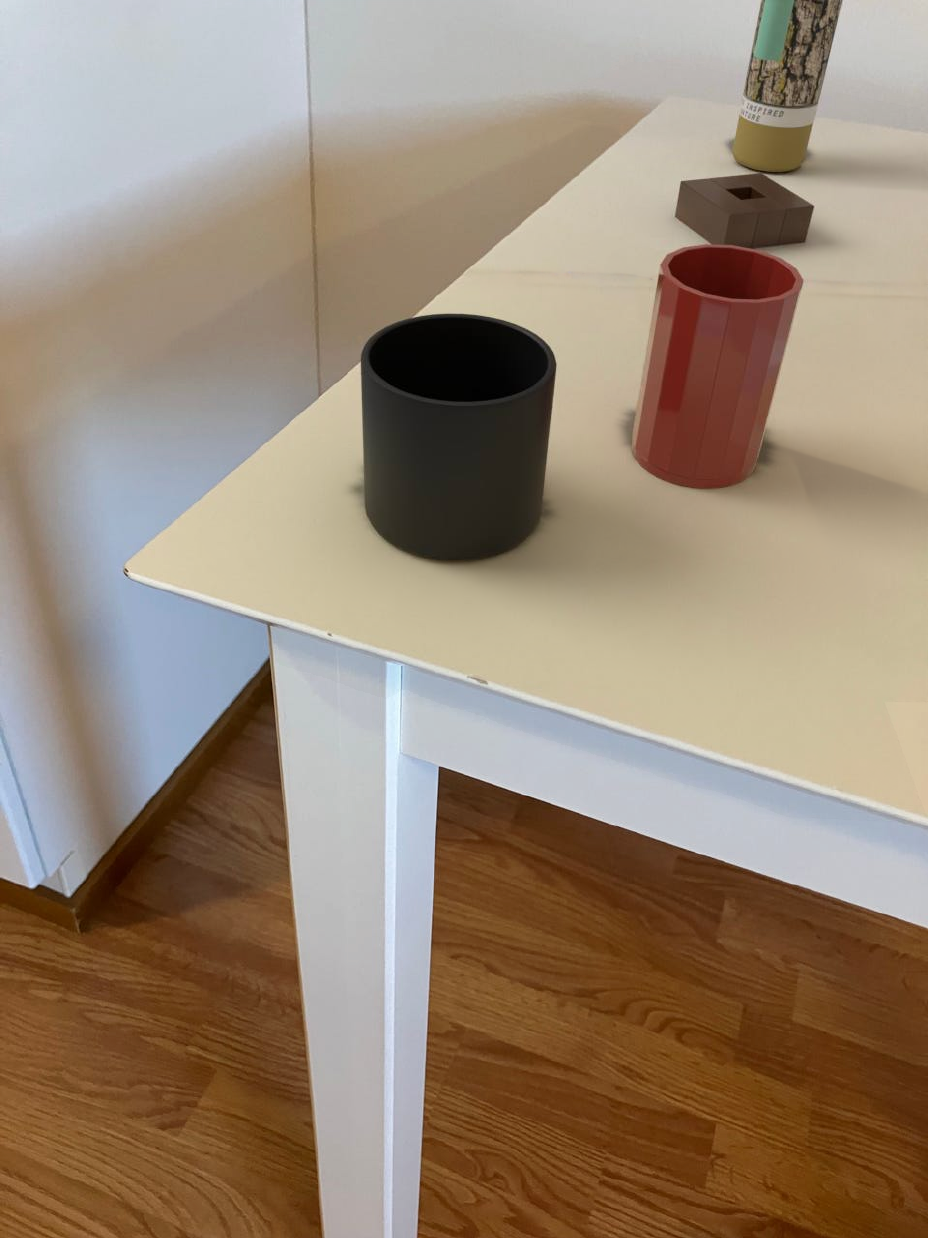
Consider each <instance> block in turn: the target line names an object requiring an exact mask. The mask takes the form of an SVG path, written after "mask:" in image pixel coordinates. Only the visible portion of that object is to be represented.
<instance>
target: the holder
mask: <svg viewBox="0 0 928 1238" xmlns="http://www.w3.org/2000/svg"><path fill="white" fill-rule="evenodd" d="M814 209H815V205H814V204H812V203H811V202H809V201H807V200H805V199H804V198H802V197H801V196H799V195H798V194H796V193H794V192H792V190H790V189H788V188H786V187H785V186H783V185H781V184H780V183H778V182H776V181H775V180H773V179H772V178H770V177H769V176H767V175H766V174H764V173H762V172H759V173H749V174H738V175H737V174H736V175H729V176H728V175H727V176H719V177H718V176H717V177H716V176H715V177H709V178H708V177H706V178H698V179H697V178H696V179H687V180H681V181H680V184H679V190H678V195H677V201H676V206H675V213H674V218H675V219H677V220H678V221H680V222H681V223H682V224H684V225H685V226H686V227H688V228H689V229H690V230H692V231H693V232H694V233H696V234H697V235H698V236H700V237H701V238H702V239H704V240H705V241H707V243H709V244H713V245H734V246H739V247H744V248H750V249H755V250H756V249H761V248H762V249H763V248H770V247H771V248H772V247H777V246H787V245H795V244H802V243H803V244H804V243H806V241H807V237H808V233H809V229H810V225H811V222H812V217H813V213H814Z"/></svg>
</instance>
